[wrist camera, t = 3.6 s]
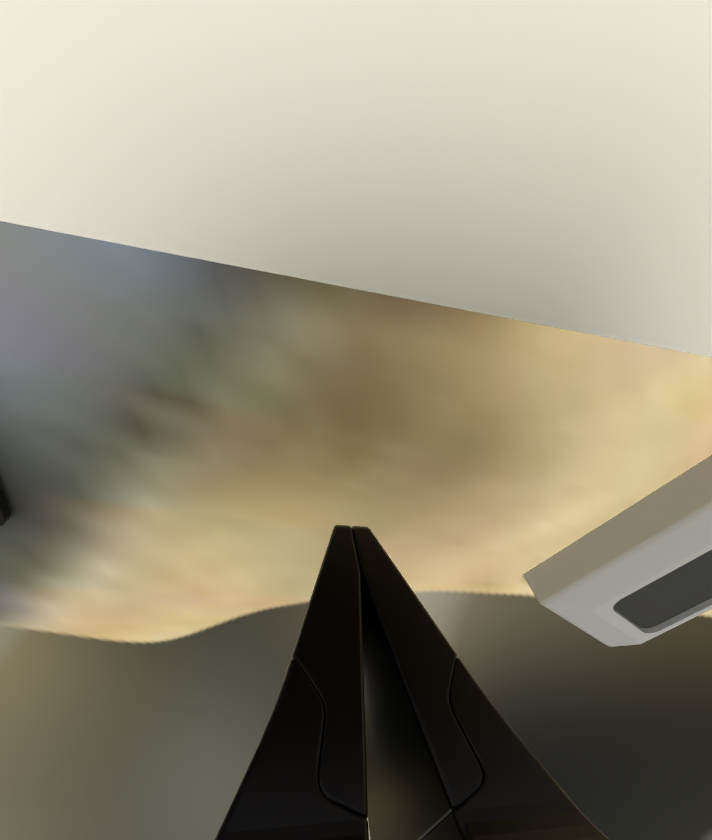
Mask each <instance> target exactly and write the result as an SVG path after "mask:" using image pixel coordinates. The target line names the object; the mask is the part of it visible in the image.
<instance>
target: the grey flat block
mask: <svg viewBox="0 0 712 840" xmlns="http://www.w3.org/2000/svg"><path fill="white" fill-rule="evenodd" d="M523 575H524V577H525V578H526V580H527V582H528V584H529V586H530V587H531V589H532V591H533V593H534V595H535V596H536V598H537V600H538V602H539V603H540V604H542V605H543V606H545V607H546V608H548V609H550V610H551V611H553V612H554V613H556V614H558V615H559V616H561V617H563V618H564V619H566V620H567V621H569V622H570V623H572V624H574V625H576V626H577V627H578V628H580V629H582V630H583V631H585V632H587V633H588V634H590V635H591V636H593V637H595V638H596V639H598V640H599V641H601V642H603V643H604V644H606V645H607V646H624V645H636V644H642V643H643V642H646V641H648V640H650V639H651V638H654V637H656V636H658V635H660V634H662V633H664V632H666V631H668V630H670V629H672V628H674V627H676V626H678V625H680V624H682V623H684V622H686V621H688V620H690V619H692V618H694V617H696V616H698V615H700V614H702V613H704V612H706V611H708V610H710V609H712V455H711V456H710V457H708V458H707V459H705V460H703V461H702V462H700V463H699V464H697V465H696V466H694V467H692V468H691V469H689V470H688V471H686V472H684V473H683V474H681V475H680V476H678V477H677V478H675V479H673V480H672V481H670V482H669V483H667V484H666V485H664V486H662V487H661V488H659V489H658V490H656V491H654V492H653V493H651V494H650V495H648V496H647V497H645V498H643V499H642V500H640V501H639V502H637V503H636V504H634V505H632V506H631V507H629V508H628V509H626V510H624V511H623V512H621V513H620V514H618V515H617V516H615V517H613V518H612V519H610V520H609V521H607V522H606V523H604V524H602V525H601V526H599V527H598V528H596V529H594V530H593V531H591V532H590V533H588V534H587V535H585V536H583V537H582V538H580V539H579V540H577V541H576V542H574V543H572V544H571V545H569V546H568V547H566V548H564V549H563V550H561V551H560V552H558V553H557V554H555V555H553V556H552V557H550V558H549V559H547V560H546V561H544V562H542V563H541V564H539V565H538V566H536V567H534V568H533V569H531V570H530V571H528V572H527V573H525V574H523Z"/></svg>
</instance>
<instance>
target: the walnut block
mask: <svg viewBox="0 0 712 840" xmlns="http://www.w3.org/2000/svg"><path fill="white" fill-rule="evenodd" d="M0 221H3V222H9V223H14V224H19V225H24V226H30V227H35V228H40V229H45V230H50V231H56V232H61V233H66V234H71V235H76V236H82V237H87V238H92V239H97V240H102V241H108V242H113V243H118V244H123V245H128V246H134V247H139V248H144V249H149V250H155V251H160V252H165V253H170V254H175V255H181V256H186V257H191V258H196V259H201V260H207V261H212V262H217V263H222V264H227V265H233V266H238V267H243V268H248V269H254V270H259V271H264V272H269V273H274V274H280V275H285V276H290V277H295V278H300V279H306V280H311V281H316V282H321V283H326V284H332V285H337V286H342V287H347V288H352V289H358V290H363V291H368V292H373V293H379V294H384V295H389V296H394V297H399V298H405V299H410V300H415V301H420V302H425V303H431V304H436V305H441V306H446V307H451V308H457V309H462V310H467V311H472V312H477V313H483V314H488V315H493V316H498V317H504V318H509V319H514V320H519V321H524V322H530V323H535V324H540V325H545V326H550V327H556V328H561V329H566V330H571V331H576V332H582V333H587V334H592V335H597V336H602V337H608V338H613V339H618V340H623V341H629V342H634V343H639V344H644V345H649V346H655V347H660V348H665V349H670V350H675V351H681V352H686V353H691V354H696V355H701V356H707V357H712V0H0Z"/></svg>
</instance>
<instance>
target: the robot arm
mask: <svg viewBox="0 0 712 840" xmlns="http://www.w3.org/2000/svg"><path fill="white" fill-rule="evenodd" d="M10 516H11V513H10V510H9V507H8V505H7V502H6V499H5V497H4V494H3V492H2V489H1V486H0V526H2V525H3V524H4V523H5V522H6V521H7V520H8V519H9V518H10ZM456 656H457V655H456V653H455V651H454V650H453V648H452V647H451V645H450V644H449V642H448V641H447V640H446V638H445V637H444V635H443V634H442V632H441V631H440V630H439V628H438V627H437V625H436V624H435V622H434V621H433V619H432V618H431V617H430V615H429V614H428V612H427V611H426V609H425V608H424V607H423V605H422V604H421V602H420V601H419V599H418V598H417V596H416V595H415V594H414V592H413V591H412V589H411V588H410V586H409V585H408V583H407V582H406V581H405V579H404V578H403V576H402V575H401V573H400V572H399V571H398V569H397V568H396V566H395V565H394V563H393V562H392V560H391V559H390V558H389V556H388V555H387V553H386V552H385V550H384V549H383V548H382V546H381V545H380V543H379V542H378V540H377V539H376V537H375V536H374V535H373V533H372V532H371V530H370V529H369V528H367V527H360V526H353V527H352V528H351V527H350V526H345V525H336V526H334V529H333V532H332V535H331V538H330V541H329V544H328V547H327V550H326V553H325V556H324V559H323V562H322V565H321V569H320V572H319V575H318V578H317V581H316V584H315V587H314V590H313V593H312V596H311V599H310V602H309V605H308V609H307V611H306V615H305V618H304V621H303V624H302V627H301V630H300V633H299V636H298V639H297V642H296V645H295V649H294V652H293V654H292V658H291V660H290V663H289V666H288V669H287V672H286V675H285V678H284V681H283V684H282V687H281V690H280V692H279V695H278V698H277V701H276V703H275V706H274V709H273V711H272V714H271V716H270V718H269V721H268V723H267V725H266V728H265V730H264V733H263V735H262V737H261V739H260V742H259V744H258V746H257V748H256V750H255V753H254V755H253V757H252V759H251V761H250V764H249V766H248V768H247V770H246V772H245V774H244V777H243V779H242V781H241V783H240V785H239V787H238V790H237V792H236V794H235V796H234V798H233V801H232V803H231V805H230V807H229V809H228V811H227V813H226V816H225V818H224V820H223V822H222V825H221V827H220V829H219V831H218V833H217V835H216V838H215V839H214V840H369V837H368V836H369V835H368V822H367V820H366V819H367V817H368V821H369V829H370V837H371V840H610V839H609V838H607V837H606V836H605V835H604V834H603V833H602V832H601V831H600V830H599V829H598V828H597V827H596V826H595V825H594V824H592V823H591V821H590V820H589V819H588V818H587V817H586V816H585V815H584V814H583V813H582V812H581V811H580V810H579V809H578V808H577V806H576V805H575V804H574V803H573V802H572V801H571V799H569V797H568V796H567V795H566V793H565V792H564V791H563V790H562V789H561V787H560V786H559V785H558V784H557V783H556V781H555V780H554V779H553V778H552V777H551V775H550V774H549V773H548V772H547V770H546V769H545V768H544V767H543V766H542V764H541V763H540V762H539V761H538V759H537V758H536V757H535V756H534V755H533V754H532V752H531V751H530V750H529V749H528V747H527V746H526V745H525V744H524V742H523V741H522V740H521V739H520V738H519V736H518V735H517V734H516V733H515V732H514V730H513V729H512V728H511V727H510V725H509V724H508V723H507V722H506V721H505V719H504V718H503V717H502V715H501V714H500V713H499V711H498V710H497V709H496V708H495V706H494V705H493V704H492V703H491V701H490V700H489V699H488V697H487V696H486V695H485V693H484V692H483V690H482V689H481V688H480V687H479V685H478V684H477V682H476V681H475V680H474V678H473V677H472V675H471V674H470V672H469V671H468V670H467V668H466V667H465V665H464V664H463V662H462V661H461V660H460V658H456Z"/></svg>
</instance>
